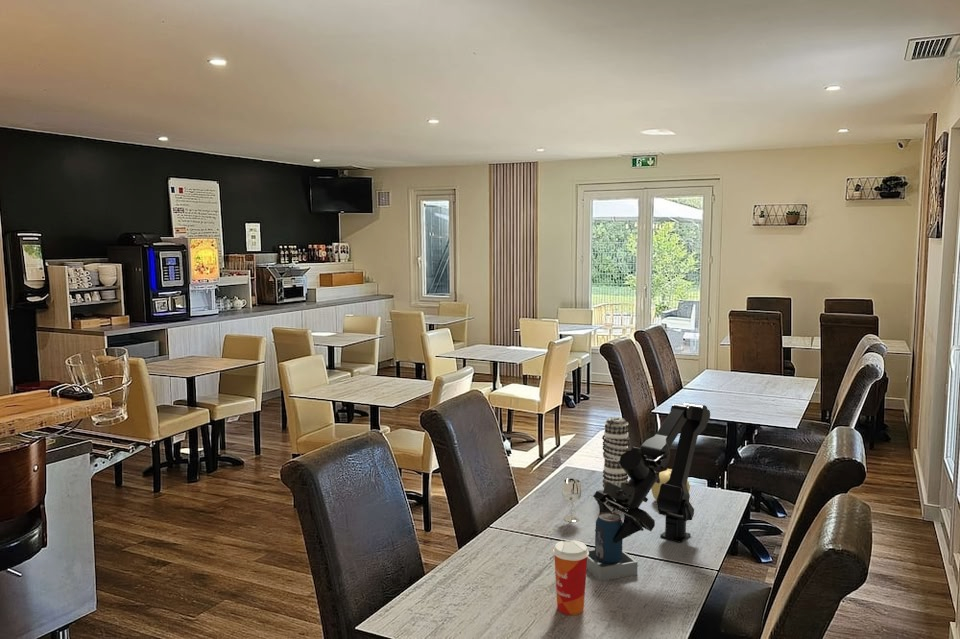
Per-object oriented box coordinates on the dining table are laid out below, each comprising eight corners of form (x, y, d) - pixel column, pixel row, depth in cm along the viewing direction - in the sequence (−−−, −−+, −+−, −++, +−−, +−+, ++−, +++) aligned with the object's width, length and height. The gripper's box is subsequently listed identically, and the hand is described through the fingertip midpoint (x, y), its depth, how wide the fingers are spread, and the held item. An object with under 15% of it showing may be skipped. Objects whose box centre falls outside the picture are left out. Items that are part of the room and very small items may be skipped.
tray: (615, 557, 192) (616, 545, 192) (637, 574, 182) (637, 561, 182) (580, 563, 188) (580, 551, 188) (600, 581, 179) (600, 568, 178)
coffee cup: (549, 600, 169) (549, 539, 168) (583, 598, 170) (584, 538, 168) (556, 619, 161) (556, 555, 159) (592, 617, 162) (593, 553, 160)
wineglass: (580, 523, 215) (580, 484, 213) (561, 522, 216) (561, 483, 215) (581, 516, 220) (581, 478, 219) (562, 514, 222) (563, 477, 220)
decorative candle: (601, 495, 238) (602, 421, 236) (601, 485, 247) (602, 414, 245) (629, 496, 237) (630, 422, 234) (628, 486, 246) (629, 415, 243)
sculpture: (693, 508, 226) (694, 475, 224) (655, 509, 226) (656, 475, 225) (684, 496, 237) (684, 464, 236) (647, 496, 237) (648, 464, 236)
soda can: (624, 557, 187) (626, 513, 185) (618, 568, 181) (619, 523, 179) (598, 552, 190) (599, 509, 188) (591, 563, 184) (592, 518, 182)
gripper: (598, 460, 192) (565, 508, 188) (646, 480, 176) (611, 533, 172) (620, 483, 197) (588, 530, 193) (669, 505, 181) (636, 557, 177)
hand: (605, 537), depth 184 cm, fingers closed on soda can, 7 cm apart
